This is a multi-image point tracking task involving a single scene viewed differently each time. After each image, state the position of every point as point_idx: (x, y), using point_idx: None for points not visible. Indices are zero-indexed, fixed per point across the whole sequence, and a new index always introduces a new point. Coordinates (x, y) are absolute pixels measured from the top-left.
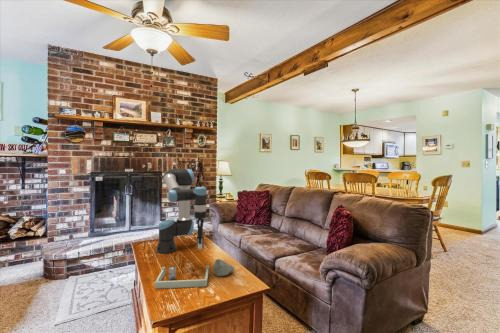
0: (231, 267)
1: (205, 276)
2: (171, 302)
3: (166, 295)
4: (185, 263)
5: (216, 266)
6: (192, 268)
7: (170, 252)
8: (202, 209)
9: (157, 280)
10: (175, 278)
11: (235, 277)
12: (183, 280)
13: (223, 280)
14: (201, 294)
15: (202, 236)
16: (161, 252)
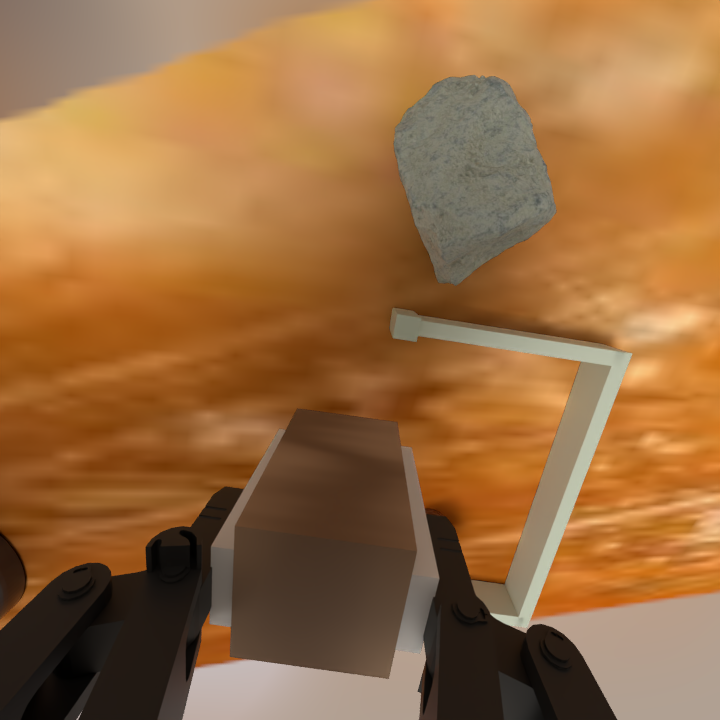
0: (516, 100)
1: (566, 358)
2: (687, 525)
3: (606, 546)
4: (208, 453)
5: (492, 257)
6: None
7: (5, 544)
8: None
9: (507, 618)
10: (435, 513)
11: (552, 102)
12: (567, 496)
13: (564, 216)
14: (684, 383)
15: (298, 566)
16: (17, 596)
